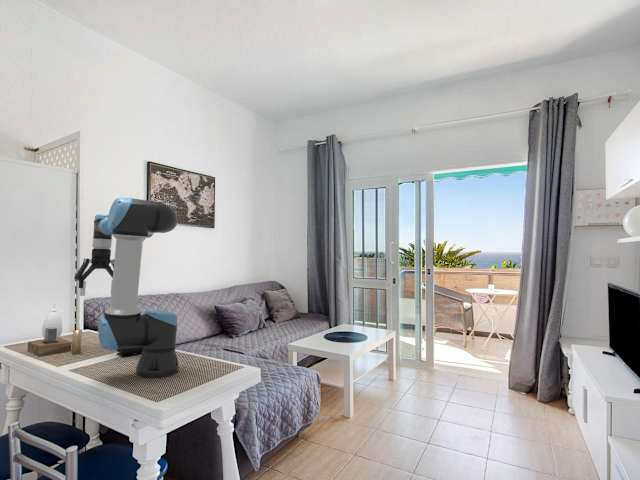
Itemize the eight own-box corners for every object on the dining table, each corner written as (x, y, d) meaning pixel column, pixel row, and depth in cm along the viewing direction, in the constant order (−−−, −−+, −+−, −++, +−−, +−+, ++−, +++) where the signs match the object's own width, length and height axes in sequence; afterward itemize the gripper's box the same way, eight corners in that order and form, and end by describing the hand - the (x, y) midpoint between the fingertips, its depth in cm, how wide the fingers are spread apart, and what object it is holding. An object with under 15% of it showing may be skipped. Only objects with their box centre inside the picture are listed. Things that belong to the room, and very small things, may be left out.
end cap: (121, 358, 160) (122, 342, 160) (114, 354, 164) (116, 339, 164) (145, 354, 167) (146, 339, 167) (138, 351, 172) (139, 336, 172)
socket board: (70, 351, 165) (71, 342, 165) (38, 356, 155) (39, 346, 155) (58, 346, 172) (59, 337, 172) (27, 351, 162) (28, 341, 162)
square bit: (54, 351, 164) (56, 328, 164) (46, 352, 161) (48, 329, 162) (52, 350, 166) (54, 327, 166) (43, 351, 163) (45, 328, 163)
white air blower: (40, 341, 179) (43, 303, 180) (59, 339, 184) (62, 302, 185) (42, 344, 173) (45, 305, 174) (62, 342, 179) (65, 304, 179)
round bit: (81, 353, 163) (83, 330, 163) (73, 355, 160) (75, 331, 160) (78, 352, 164) (80, 329, 165) (70, 353, 162) (71, 330, 162)
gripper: (123, 249, 185) (120, 293, 184) (67, 246, 164) (63, 295, 163) (132, 249, 181) (129, 294, 180) (76, 247, 160) (72, 297, 159)
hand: (98, 295), depth 171 cm, fingers open, 13 cm apart
